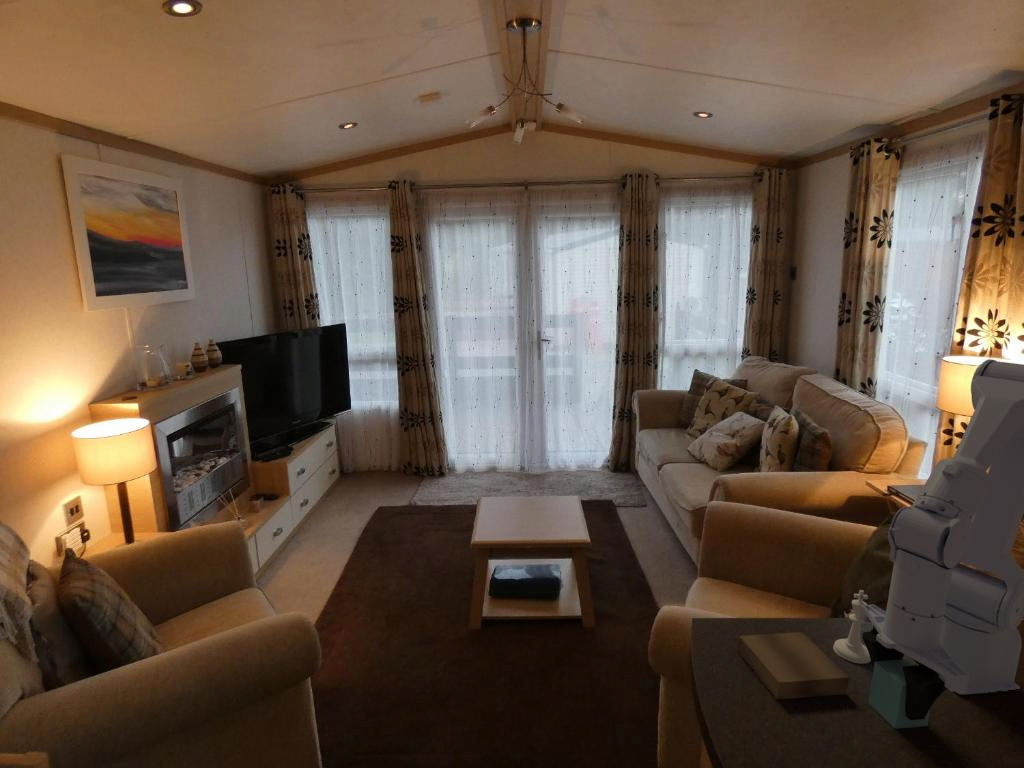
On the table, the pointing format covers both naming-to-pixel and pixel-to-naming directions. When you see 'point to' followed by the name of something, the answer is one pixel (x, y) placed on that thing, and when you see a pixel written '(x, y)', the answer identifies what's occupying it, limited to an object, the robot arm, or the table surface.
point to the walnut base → (792, 665)
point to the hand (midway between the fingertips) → (898, 702)
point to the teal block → (892, 694)
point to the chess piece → (854, 636)
